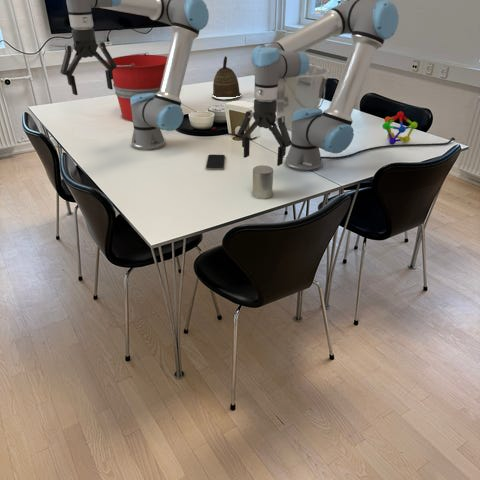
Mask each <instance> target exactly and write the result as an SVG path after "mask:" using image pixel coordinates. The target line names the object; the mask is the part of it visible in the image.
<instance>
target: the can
mask: <svg viewBox="0 0 480 480" xmlns="http://www.w3.org/2000/svg"><path fill="white" fill-rule="evenodd" d="M273 182H274V168H273V167H272V166H270V165H263V164H261V165H256V166H254V167H253V168H252V196H253V197H254V198H256V199H261V200H265V199H269V198H271V197H272V196H273V184H274V183H273Z"/></svg>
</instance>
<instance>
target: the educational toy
mask: <svg viewBox="0 0 480 480" xmlns="http://www.w3.org/2000/svg"><path fill="white" fill-rule="evenodd" d="M397 119H399V124H400V125H399V127H398V126H393V125H391V124H392V123H394V122H395V121H396V120H397ZM403 120H404V121H405V122H407V123H408V124H409V125H407V126H404V123H403ZM417 127H418V122H417V121H411V120H410V119H409V118H408V117H406V116H405V113H404V112H403V111H401V110H400V111H398V112H397V114H396V115H394V116H391V117H390V116H386V117H385V118H384V122H383V123H382V129H383V130H386V132H387V138H388V142H389V145H396V143H397V142H402V141H403V142H404V143H409V142H410V140H411V138H410V136H411V134H412V132H413V131H414V130H415V129H417ZM392 129H393V130H397V131H398V132H396V134H395V133H394V132H392ZM408 129H409V131H408V133H407V134H406V135H404V136H401V134H403V133H405V132H406V130H408ZM399 135H400V136H399Z"/></svg>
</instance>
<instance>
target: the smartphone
mask: <svg viewBox="0 0 480 480" xmlns="http://www.w3.org/2000/svg"><path fill="white" fill-rule="evenodd" d="M225 160H226V155H225V154H208V156H207V161H206V164H205V165H206V166H205V169H207V170H224V167H225Z"/></svg>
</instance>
